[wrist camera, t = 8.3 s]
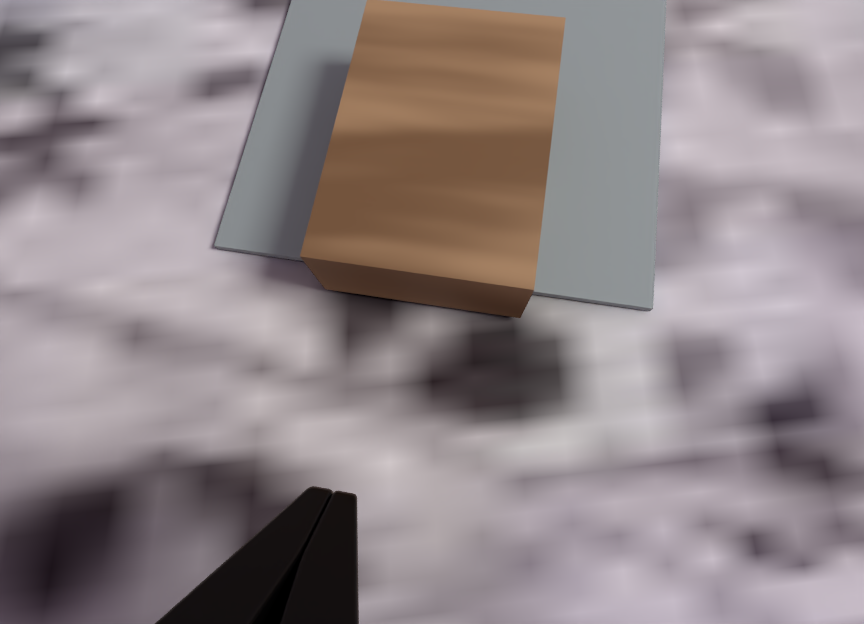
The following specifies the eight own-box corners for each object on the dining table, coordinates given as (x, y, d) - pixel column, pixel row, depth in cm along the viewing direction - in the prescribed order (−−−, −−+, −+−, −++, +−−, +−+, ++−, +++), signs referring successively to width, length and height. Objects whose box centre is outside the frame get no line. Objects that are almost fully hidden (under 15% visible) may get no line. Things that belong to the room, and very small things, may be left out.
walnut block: (534, 290, 14) (565, 17, 17) (299, 256, 14) (367, -2, 17) (520, 318, 17) (549, 81, 19) (325, 289, 17) (379, 64, 20)
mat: (649, 311, 17) (652, 308, 17) (217, 248, 18) (214, 245, 18) (663, 2, 21) (666, -5, 20) (305, -30, 22) (303, -37, 22)
